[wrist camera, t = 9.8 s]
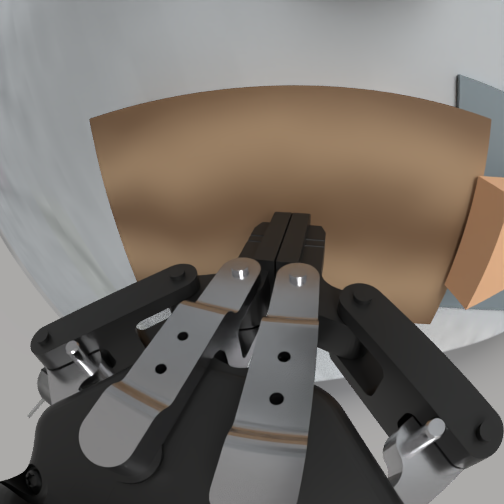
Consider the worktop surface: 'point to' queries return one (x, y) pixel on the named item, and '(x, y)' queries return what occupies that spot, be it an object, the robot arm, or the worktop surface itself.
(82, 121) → the worktop surface
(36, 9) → the worktop surface
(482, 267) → the orange tan rectangular block
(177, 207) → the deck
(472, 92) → the mat
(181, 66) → the worktop surface
